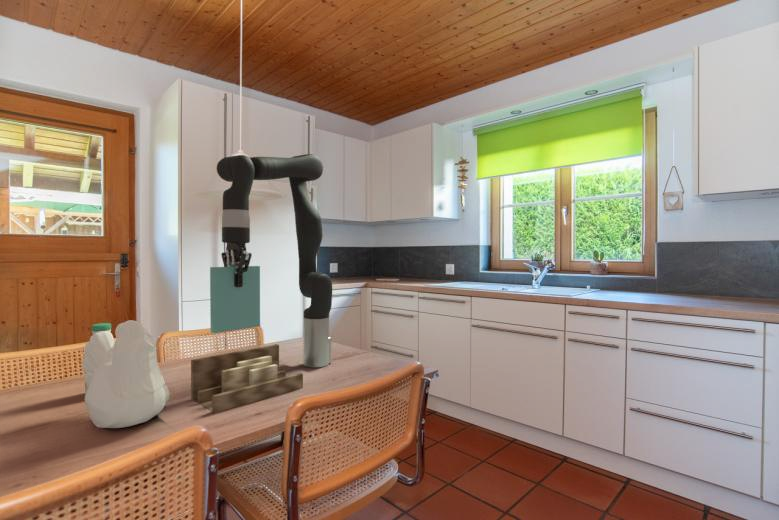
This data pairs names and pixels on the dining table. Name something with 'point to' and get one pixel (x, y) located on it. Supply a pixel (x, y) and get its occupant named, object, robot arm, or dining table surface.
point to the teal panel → (234, 299)
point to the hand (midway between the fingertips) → (236, 286)
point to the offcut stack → (249, 373)
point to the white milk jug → (123, 377)
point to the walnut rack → (210, 388)
